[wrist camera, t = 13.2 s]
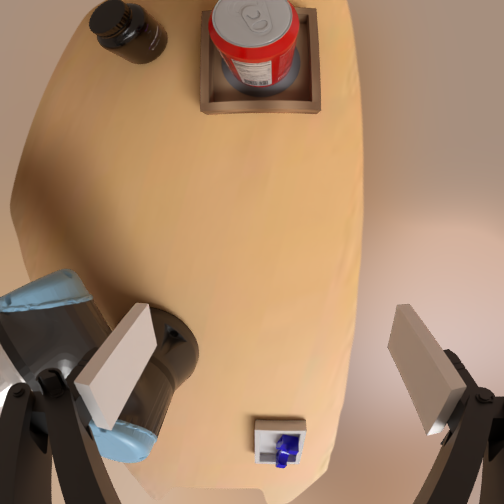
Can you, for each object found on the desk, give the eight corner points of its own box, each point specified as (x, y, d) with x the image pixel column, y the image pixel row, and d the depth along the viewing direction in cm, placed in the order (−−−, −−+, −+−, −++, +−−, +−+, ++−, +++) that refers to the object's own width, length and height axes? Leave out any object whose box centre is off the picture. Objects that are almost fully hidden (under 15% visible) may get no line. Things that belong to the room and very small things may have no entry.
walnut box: (207, 114, 36) (200, 111, 32) (208, 22, 32) (201, 11, 28) (316, 114, 35) (321, 110, 31) (312, 20, 30) (316, 8, 27)
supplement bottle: (175, 50, 33) (140, 20, 22) (133, 73, 35) (87, 54, 23) (160, 16, 31) (125, -18, 20) (120, 39, 33) (76, 15, 21)
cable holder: (282, 434, 54) (282, 449, 50) (298, 437, 54) (298, 451, 50) (269, 452, 57) (269, 465, 53) (284, 454, 57) (284, 468, 53)
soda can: (247, 99, 34) (230, 70, 20) (218, 51, 32) (188, 4, 18) (302, 73, 33) (319, 32, 18) (273, 26, 30) (271, -32, 16)
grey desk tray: (255, 453, 58) (254, 463, 55) (255, 419, 53) (254, 429, 51) (299, 454, 57) (299, 463, 55) (305, 420, 53) (306, 430, 50)
